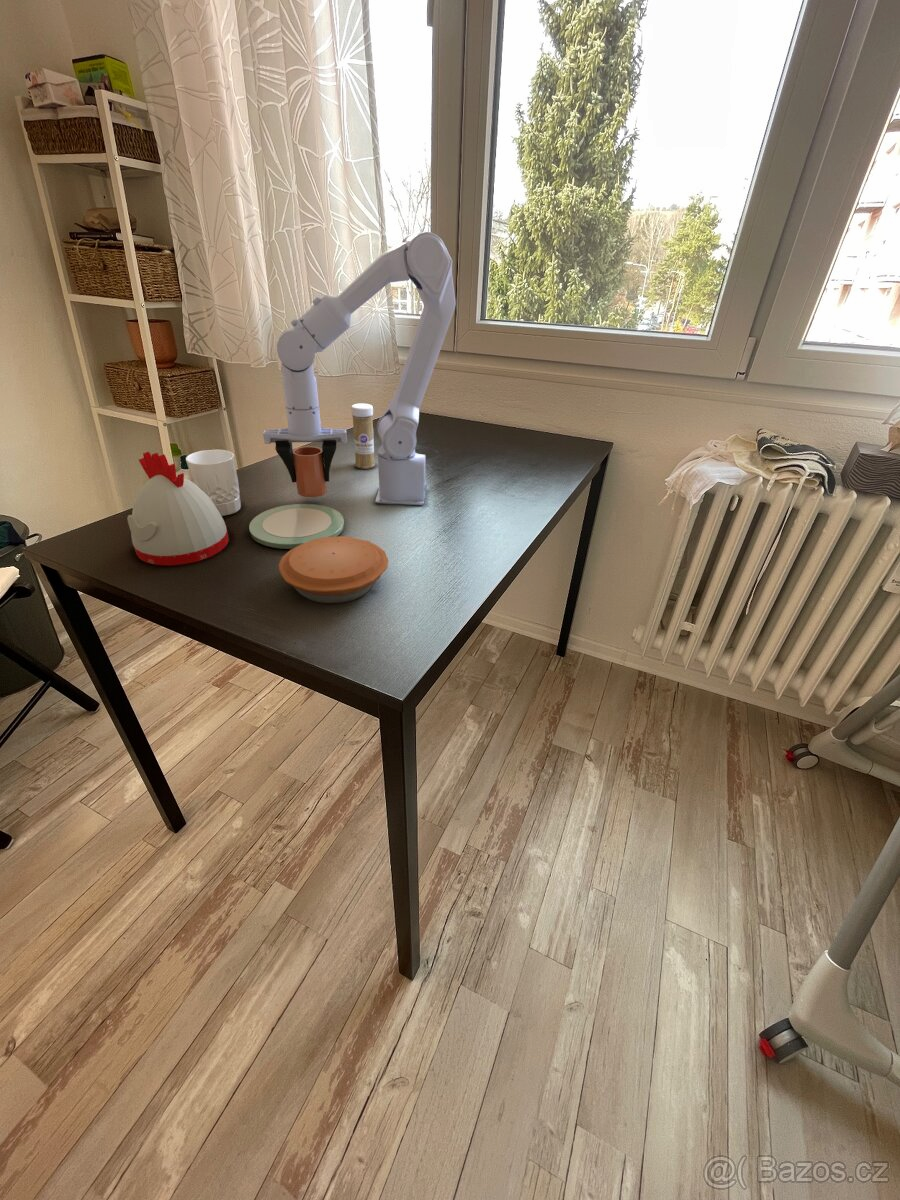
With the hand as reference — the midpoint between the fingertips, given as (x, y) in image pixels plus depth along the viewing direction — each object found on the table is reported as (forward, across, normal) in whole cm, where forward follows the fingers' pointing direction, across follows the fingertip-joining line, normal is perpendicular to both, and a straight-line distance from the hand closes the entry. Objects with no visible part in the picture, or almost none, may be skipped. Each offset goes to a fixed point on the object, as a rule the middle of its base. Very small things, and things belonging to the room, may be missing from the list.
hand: (311, 480), depth 97 cm
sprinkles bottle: (+5, -11, -20) cm, 23 cm away
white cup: (+5, +17, +2) cm, 17 cm away
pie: (+5, -5, +30) cm, 31 cm away
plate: (+4, +2, +12) cm, 13 cm away
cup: (+2, 0, 0) cm, 2 cm away
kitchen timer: (+5, +20, +16) cm, 26 cm away
